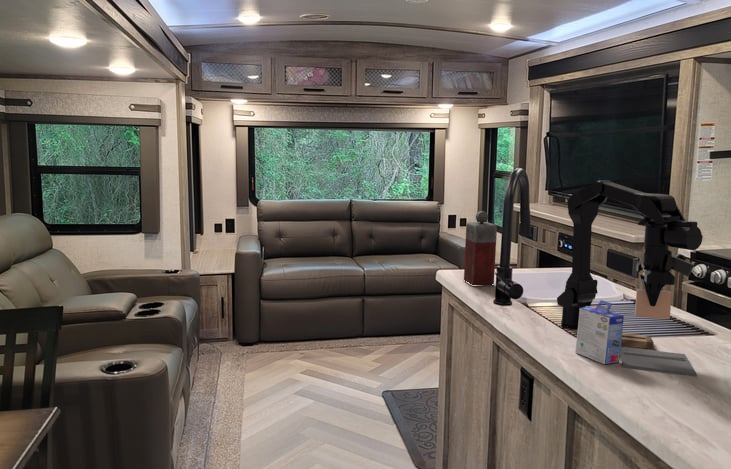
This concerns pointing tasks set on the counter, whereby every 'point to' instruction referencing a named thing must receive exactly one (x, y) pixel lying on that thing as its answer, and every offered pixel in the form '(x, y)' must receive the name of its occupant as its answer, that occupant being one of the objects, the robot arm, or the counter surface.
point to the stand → (637, 341)
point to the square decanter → (480, 251)
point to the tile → (655, 311)
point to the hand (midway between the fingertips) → (652, 305)
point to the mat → (656, 361)
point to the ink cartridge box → (599, 333)
